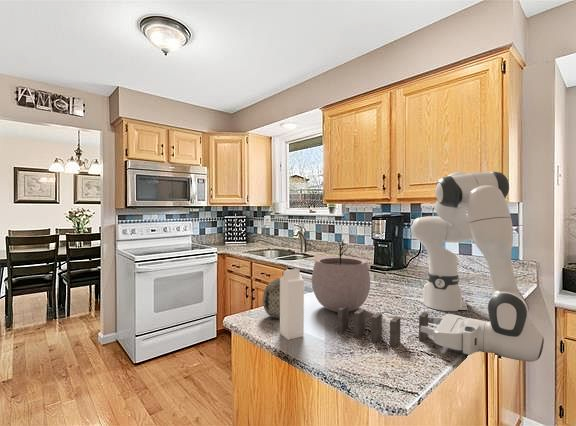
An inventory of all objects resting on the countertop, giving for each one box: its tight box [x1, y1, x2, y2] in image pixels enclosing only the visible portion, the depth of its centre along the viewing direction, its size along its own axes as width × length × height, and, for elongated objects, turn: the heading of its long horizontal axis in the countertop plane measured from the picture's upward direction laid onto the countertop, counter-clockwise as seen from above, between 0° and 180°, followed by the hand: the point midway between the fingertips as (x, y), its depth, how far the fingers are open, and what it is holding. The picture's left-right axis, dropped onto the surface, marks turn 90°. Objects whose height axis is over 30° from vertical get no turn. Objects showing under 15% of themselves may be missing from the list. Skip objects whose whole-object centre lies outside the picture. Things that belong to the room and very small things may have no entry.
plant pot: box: [311, 237, 371, 313], centre depth 130 cm, size 24×24×30 cm
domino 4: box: [389, 315, 402, 349], centre depth 98 cm, size 5×2×8 cm, turn 143°
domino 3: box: [370, 312, 383, 344], centre depth 102 cm, size 5×2×8 cm, turn 143°
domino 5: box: [418, 311, 429, 342], centre depth 102 cm, size 5×2×8 cm, turn 143°
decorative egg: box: [262, 278, 280, 319], centre depth 121 cm, size 12×12×15 cm
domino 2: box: [353, 308, 366, 339], centre depth 105 cm, size 5×2×8 cm, turn 143°
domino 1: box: [337, 305, 350, 334], centre depth 109 cm, size 5×2×8 cm, turn 143°
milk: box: [279, 268, 305, 341], centre depth 105 cm, size 6×6×22 cm
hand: (424, 323), depth 102 cm, fingers open, 8 cm apart
